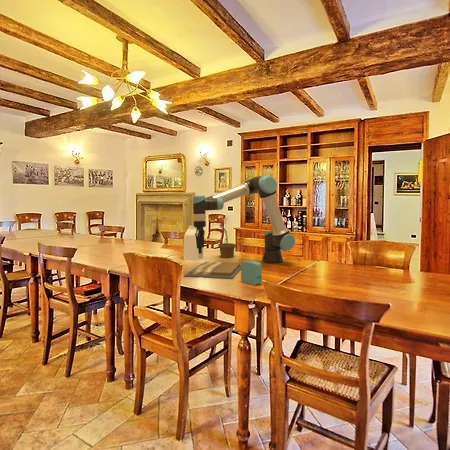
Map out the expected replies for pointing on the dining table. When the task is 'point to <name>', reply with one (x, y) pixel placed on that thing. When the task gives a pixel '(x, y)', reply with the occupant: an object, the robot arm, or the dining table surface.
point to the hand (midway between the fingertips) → (200, 258)
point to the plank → (206, 268)
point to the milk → (190, 244)
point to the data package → (251, 272)
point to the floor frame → (220, 271)
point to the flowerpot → (226, 245)
